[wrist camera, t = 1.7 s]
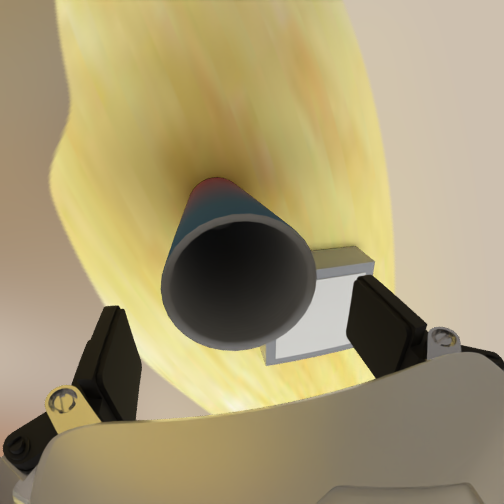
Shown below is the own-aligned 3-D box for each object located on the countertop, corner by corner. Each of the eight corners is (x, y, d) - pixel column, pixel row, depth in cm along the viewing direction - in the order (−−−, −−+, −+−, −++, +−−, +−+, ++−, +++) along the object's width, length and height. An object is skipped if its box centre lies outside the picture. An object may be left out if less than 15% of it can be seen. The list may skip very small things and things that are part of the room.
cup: (268, 197, 26) (345, 271, 13) (222, 253, 28) (252, 368, 14) (209, 151, 24) (227, 177, 10) (163, 213, 25) (132, 308, 12)
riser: (256, 256, 29) (265, 276, 25) (355, 246, 30) (375, 262, 27) (258, 342, 33) (266, 366, 29) (343, 326, 35) (358, 347, 31)
